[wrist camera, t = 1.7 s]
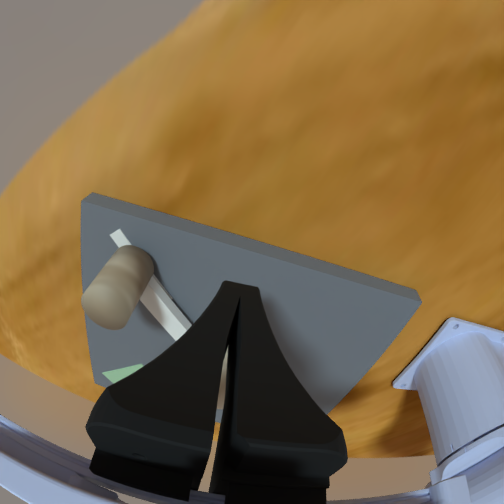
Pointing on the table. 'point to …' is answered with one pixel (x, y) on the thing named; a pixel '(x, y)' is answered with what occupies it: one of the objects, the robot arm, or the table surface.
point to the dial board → (250, 273)
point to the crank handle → (135, 298)
